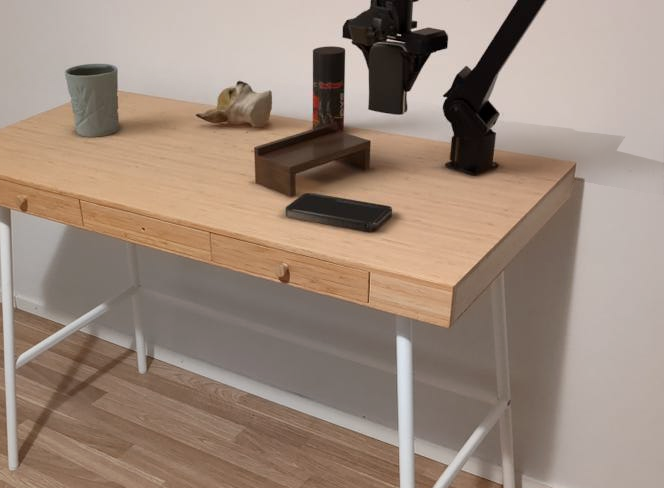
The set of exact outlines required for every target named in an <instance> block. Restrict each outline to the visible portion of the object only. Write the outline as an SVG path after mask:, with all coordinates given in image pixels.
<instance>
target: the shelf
mask: <svg viewBox="0 0 664 488" xmlns="http://www.w3.org/2000/svg"><path fill="white" fill-rule="evenodd" d="M337 130H338V124H337V123H331V124H328V125H324V126H321V127H318V128H315V129H313V128H312V129H309V130H306V131H302V132H299V133H296V134H292V135H289V136H286V137H283V138H280V139H276V140H273V141H270V142H267V143H264V144H260V145H256V146H254V147H253V154H254V177H255V178H254V182H255V184H257V185H260V186H263V187H265V188H267V189H269V190H271V191H274V192H277V193H279V194H282V195H284V196H287V197H289V198H293V197H295V196H296V195H297V182H296V181H297V175H296V174H299V173H303V172H305V171H308V170H312V169H314V168H317V167H320V166H322V165H326V164H328V163H331V162H338V163H341V164H344V165H347V166H349V167H353V168H355V169H356V168H357V169H358V170H362V171H365V172H366V171H368V170H370V169H371V144H372V143H371V140H369V139H367V138H363V137H360V136H356V135H353V134H351V133H347V132H344V131H343V132H341V131H337Z"/></svg>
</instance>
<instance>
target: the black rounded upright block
mask: <svg viewBox="0 0 664 488" xmlns="http://www.w3.org/2000/svg"><path fill="white" fill-rule="evenodd" d="M406 50H407V49H406V47H405V43H404V42H399V41H394V40H387V41H382V42H378V43H375V44H374V45H373V46H372V47H371V49H370V53H369V70H368V105H367V106H368V107H367V110H369V111H373V112H376V113H382V114H387V115H398V116H402V115H404V114H406V113H407V112H408V99H407V95H408V92H405V91H404V59H403V58H402V56H401V55H400V53H399V52H402V51H406Z"/></svg>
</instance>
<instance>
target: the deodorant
mask: <svg viewBox="0 0 664 488" xmlns="http://www.w3.org/2000/svg"><path fill="white" fill-rule="evenodd" d="M345 81H346V49H345V47H341V46H335V45H334V46H331V45H330V46H319V47H315V48H314V49H312V129H315V128H318V127H321V126H324V125H328V124H331V123H337V124H338V130H337V131H341V132H344V131H345V89H346V86H345V84H346V82H345Z"/></svg>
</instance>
